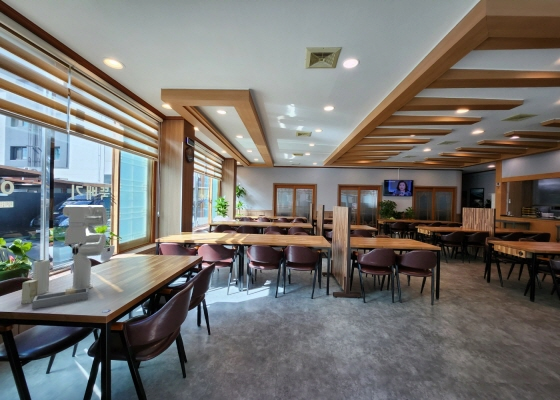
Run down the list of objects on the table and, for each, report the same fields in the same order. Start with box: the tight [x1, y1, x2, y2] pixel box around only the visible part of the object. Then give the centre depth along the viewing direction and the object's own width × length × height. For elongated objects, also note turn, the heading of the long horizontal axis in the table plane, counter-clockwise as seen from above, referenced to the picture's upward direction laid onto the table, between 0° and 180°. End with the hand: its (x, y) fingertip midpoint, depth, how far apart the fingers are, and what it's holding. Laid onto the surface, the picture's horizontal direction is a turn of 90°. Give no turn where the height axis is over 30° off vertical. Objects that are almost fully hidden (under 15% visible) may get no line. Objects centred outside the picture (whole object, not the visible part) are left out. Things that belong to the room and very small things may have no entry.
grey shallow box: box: [31, 288, 89, 310], centre depth 144 cm, size 10×24×4 cm, turn 130°
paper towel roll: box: [32, 259, 51, 296], centre depth 157 cm, size 7×6×21 cm
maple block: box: [64, 287, 75, 295], centre depth 146 cm, size 4×4×4 cm
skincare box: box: [20, 279, 38, 305], centre depth 143 cm, size 6×4×12 cm
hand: (75, 254), depth 151 cm, fingers closed
